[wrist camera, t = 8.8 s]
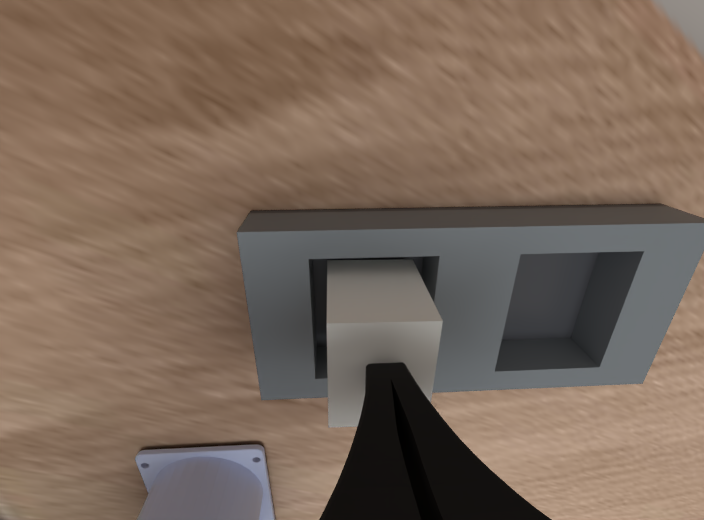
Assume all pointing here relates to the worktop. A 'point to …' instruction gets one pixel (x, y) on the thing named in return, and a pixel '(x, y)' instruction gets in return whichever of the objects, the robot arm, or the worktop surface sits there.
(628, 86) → the worktop surface
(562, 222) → the socket strip
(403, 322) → the plug
